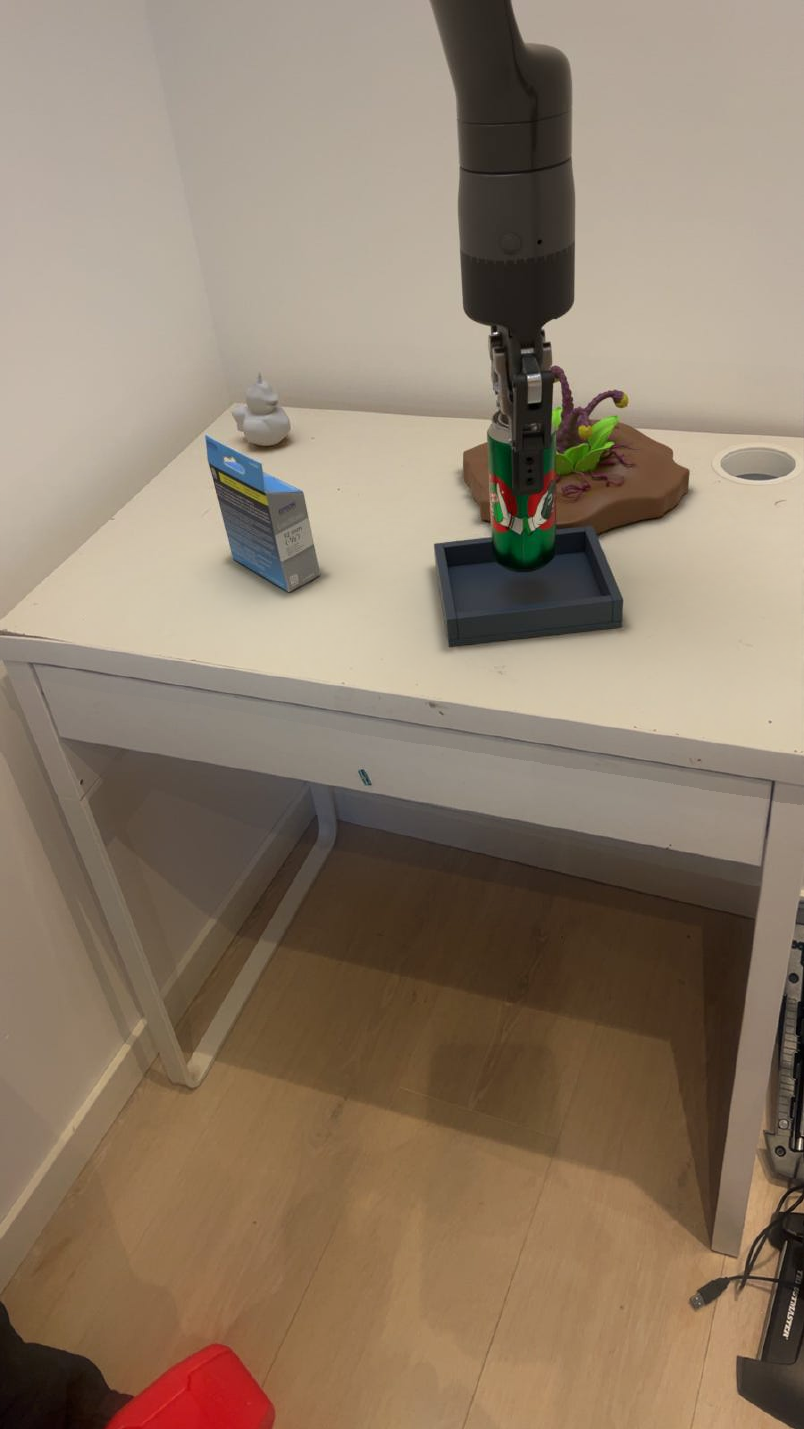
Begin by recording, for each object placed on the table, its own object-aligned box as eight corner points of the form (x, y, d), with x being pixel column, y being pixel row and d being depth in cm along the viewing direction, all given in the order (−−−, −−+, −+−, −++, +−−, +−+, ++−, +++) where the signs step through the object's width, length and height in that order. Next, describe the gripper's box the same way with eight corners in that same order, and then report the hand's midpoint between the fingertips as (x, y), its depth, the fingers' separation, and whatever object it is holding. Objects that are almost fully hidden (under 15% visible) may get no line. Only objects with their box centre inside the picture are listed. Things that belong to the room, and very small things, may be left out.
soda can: (555, 541, 85) (555, 400, 77) (556, 575, 81) (556, 430, 73) (493, 543, 85) (487, 404, 78) (491, 576, 81) (485, 433, 74)
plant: (607, 425, 109) (611, 317, 102) (718, 502, 94) (731, 382, 87) (432, 472, 104) (423, 362, 97) (520, 560, 90) (517, 439, 83)
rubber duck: (280, 455, 111) (267, 382, 105) (226, 450, 113) (211, 379, 108) (302, 433, 114) (290, 362, 109) (249, 429, 116) (236, 359, 111)
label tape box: (322, 576, 91) (300, 445, 83) (285, 595, 89) (259, 463, 81) (264, 543, 96) (239, 417, 88) (228, 561, 94) (199, 434, 87)
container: (592, 551, 90) (592, 525, 88) (622, 627, 81) (623, 599, 79) (435, 569, 90) (433, 543, 88) (448, 646, 81) (446, 619, 79)
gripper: (596, 262, 62) (590, 515, 73) (554, 203, 73) (554, 430, 84) (472, 277, 62) (484, 527, 73) (449, 215, 73) (462, 440, 84)
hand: (522, 474), depth 78 cm, fingers closed on soda can, 5 cm apart
